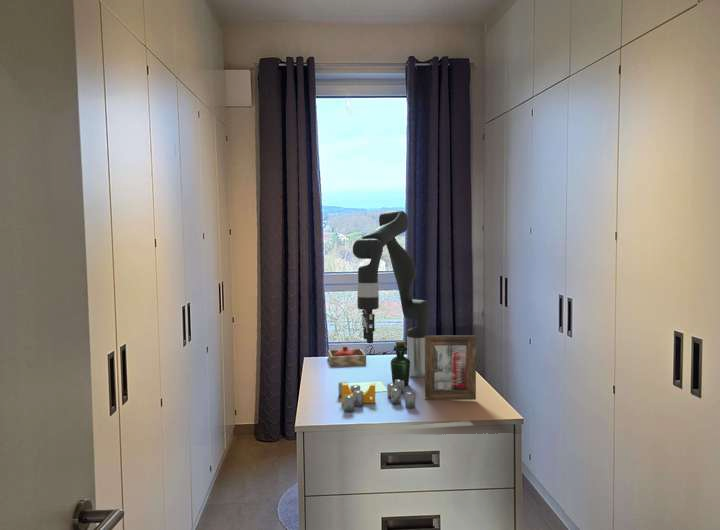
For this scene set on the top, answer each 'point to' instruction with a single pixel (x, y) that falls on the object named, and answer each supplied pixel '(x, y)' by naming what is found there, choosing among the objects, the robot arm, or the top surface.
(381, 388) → the pad
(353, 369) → the top surface
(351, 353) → the butter dish
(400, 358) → the potion bottle
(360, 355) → the frame
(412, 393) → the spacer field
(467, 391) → the picture frame
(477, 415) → the top surface
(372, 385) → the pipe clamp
